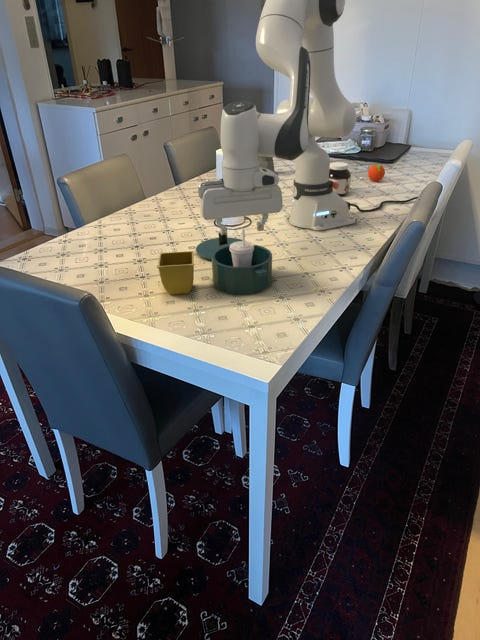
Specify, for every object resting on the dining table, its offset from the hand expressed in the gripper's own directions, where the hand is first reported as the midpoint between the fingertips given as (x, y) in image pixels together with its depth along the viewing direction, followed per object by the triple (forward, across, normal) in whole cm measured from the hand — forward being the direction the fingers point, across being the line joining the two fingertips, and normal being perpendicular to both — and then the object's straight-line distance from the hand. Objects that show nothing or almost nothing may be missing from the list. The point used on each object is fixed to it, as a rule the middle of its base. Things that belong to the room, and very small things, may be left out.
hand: (242, 232), depth 124 cm
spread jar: (+15, +53, +67) cm, 87 cm away
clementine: (+15, +76, +77) cm, 109 cm away
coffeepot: (+15, +33, +102) cm, 108 cm away
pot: (+14, 0, 0) cm, 14 cm away
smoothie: (+14, 0, 0) cm, 14 cm away
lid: (+13, -1, +21) cm, 25 cm away
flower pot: (+14, -17, -1) cm, 22 cm away
